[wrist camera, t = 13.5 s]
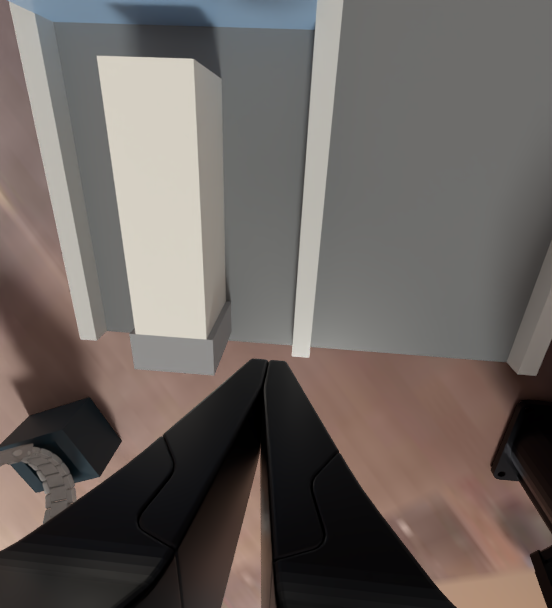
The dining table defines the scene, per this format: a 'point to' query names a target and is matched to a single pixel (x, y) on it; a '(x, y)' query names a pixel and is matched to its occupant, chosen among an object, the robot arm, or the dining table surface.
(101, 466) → the bust statue
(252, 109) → the grey rimmed tray
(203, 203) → the cream rectangular block
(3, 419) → the dining table surface
